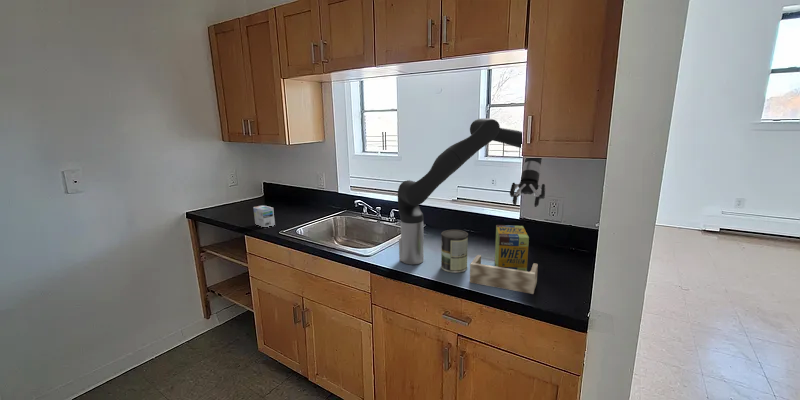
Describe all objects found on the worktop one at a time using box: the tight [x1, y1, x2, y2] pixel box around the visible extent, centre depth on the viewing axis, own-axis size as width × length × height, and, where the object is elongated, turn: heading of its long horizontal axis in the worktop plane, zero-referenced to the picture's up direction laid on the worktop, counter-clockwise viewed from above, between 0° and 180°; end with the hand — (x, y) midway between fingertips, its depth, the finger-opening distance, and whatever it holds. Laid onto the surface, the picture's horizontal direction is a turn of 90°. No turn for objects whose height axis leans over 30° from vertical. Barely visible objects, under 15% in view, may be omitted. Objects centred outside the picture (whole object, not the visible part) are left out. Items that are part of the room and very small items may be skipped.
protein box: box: [494, 224, 530, 271], centre depth 140 cm, size 10×15×16 cm
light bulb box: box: [252, 204, 276, 228], centre depth 206 cm, size 11×7×11 cm, turn 49°
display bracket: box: [469, 254, 539, 295], centre depth 129 cm, size 22×10×7 cm, turn 64°
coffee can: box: [440, 229, 469, 274], centre depth 142 cm, size 10×10×14 cm
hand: (525, 205), depth 156 cm, fingers open, 8 cm apart
